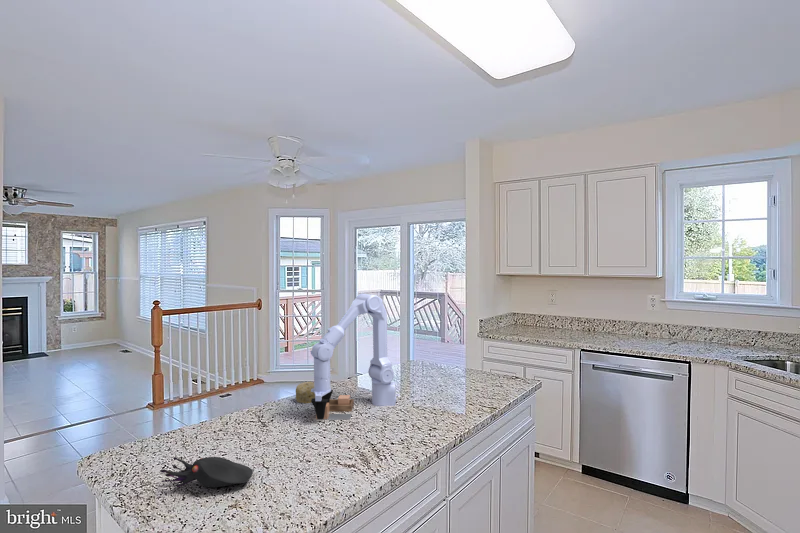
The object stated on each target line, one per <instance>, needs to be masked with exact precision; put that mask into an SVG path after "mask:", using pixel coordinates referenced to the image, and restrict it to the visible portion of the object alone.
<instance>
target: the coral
mask: <svg viewBox="0 0 800 533" xmlns="http://www.w3.org/2000/svg"><path fill="white" fill-rule="evenodd" d="M312 388H314V381H311V380H310V381H305V382H301V383H300V384H298V385H296V387H295V401H296V402H297V403H300V404H310V403H311V404H312V402H311V400H312V398H315V394H314V392H311V389H312Z"/></svg>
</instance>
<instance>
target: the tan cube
mask: <svg viewBox="0 0 800 533" xmlns="http://www.w3.org/2000/svg"><path fill="white" fill-rule="evenodd" d="M329 414H330V412H329V403H327V404H326V407H325V415H324V419H328V417H329ZM316 419H317V416H316V415H315V420H316Z"/></svg>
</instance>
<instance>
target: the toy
mask: <svg viewBox="0 0 800 533" xmlns="http://www.w3.org/2000/svg"><path fill="white" fill-rule="evenodd" d="M172 458H173V460H175V461H178V462H180V463H181V464H183V465H184V469H181V468H179V467H178V466H177V465H176V464H173V465H172V467H173V470H175V469H176V470H179V471H171V470H167V469H166V468H164V469H161V470H160V472H161V473H166V474H164V475H165V477H168V478H169V477H171V478H174V479H167V480H161V482H162V483H166V482H173V483H174V482H175V483H176V482H177V483H181V484H179V485H176V484H175V486H177V487H176V488H180V487H182V486H185V485H187V484H190V483H191V482H194V481H197V482H198V483H199V484H200V485H201V486H203V487H205V486H207V487H206V488H220V487H227V486H231V485H235V484H244V483H247V482H248V481H249V480H250V479H251V478H252V476H253V472H254V470H253V469H252V468H251V467H250V466H247V465H244V464H243V463H238V462H234V461H232V460H230V459H227V458H225V457H219V456H208V457H200V458H199V459H196V460H195V461H194V462H193V463H192V464H191V463H189V462H187V461H185V460H183V459H180V458H178V457H176V456H174V457H173V456H172Z"/></svg>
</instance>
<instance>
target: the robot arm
mask: <svg viewBox="0 0 800 533" xmlns="http://www.w3.org/2000/svg"><path fill="white" fill-rule="evenodd" d="M349 306H350V307H349V308H348V309H347V311H346V312H345V314H344V315H343V316H342V318H341V319H340V320H339V322H338V323H337V324H335V325H332V326H331V327H328V328H327V332H326V333H325V334H324V335H323V337H322V338H320V339H319V340H318V342H316V343H315V344H314V345H313V346H312V348H311V349H312V350H310V354H311V356H312V357H313V382H314V388H312V389H311V392H314V394H315V398H312V400H311V402H312V403H311V404H312V406H313V408H314V411H315V417H316V416H317V419H324V415H325V407H326V404H327V403H329V402H330V399H331V397H332V394H333V392H334V390H333V389H332V388H331V358H333V356H334V350H335V348H336V347H337V346H338V345H339V343H340V342H341V341H342V339H343V338H344V337H345V331H346V330H347V329H348V328H349V326H350V325H351V324H352V323H353V322H354V320H355V319H357V318H358V316H360V315H361V316H362V315H365V314H368V315H369V316H371V318H372V338H373V339H372V341H373V342H372V345H373V346H372V348H373V351H372V352H373V353H372V354H373V356H372V359H370V362H369V364H370V365H369V368H368V372H367V373H368V376H369V377H370V379H371V403H372V405H373V406H376V407H387V406H388V407H390V406H393V407H394V406H396V402H397V395H396V394H397V393H396V392H397V391H396V390H397V389H396V388H397V387H396V381H393V379H394V377H395V371H394V369H393V367H392V366H393V365H392V362H391V360H390V359H389V357H388V313H387V310H386V307H385V305H384V300H383V298H381V297H380V296H378V295H376V294H368V293H363V292H362V293H359V294H358V295H356V298H355V299H353V300H352V302H351V305H349Z"/></svg>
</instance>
